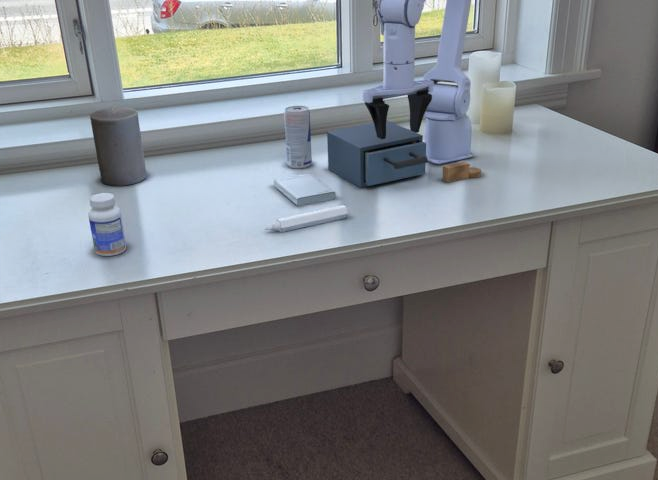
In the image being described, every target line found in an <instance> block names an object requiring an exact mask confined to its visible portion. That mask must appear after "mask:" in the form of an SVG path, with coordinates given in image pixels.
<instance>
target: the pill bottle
mask: <svg viewBox="0 0 658 480" xmlns="http://www.w3.org/2000/svg"><path fill="white" fill-rule="evenodd" d="M89 206H90V207H91V208H90V209H89V211H88V214H87V215H88V216H87V217H88V221H89V228H90V232H91V238H92V243H93V249H94V252H95V253H96V255H99V256H101V257H113V256H118V255H121V254H123V253H124V252H125V251H126V249H127V242H126V241H127V240H126V236H125V229H124V224H123V218H122V211H121V209H120V208H119V206H118V205H116V199H115V195H114V194H113V193H109V192H101V193H96V194H93V195H91V196H90V197H89Z"/></svg>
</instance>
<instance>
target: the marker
mask: <svg viewBox="0 0 658 480" xmlns="http://www.w3.org/2000/svg"><path fill="white" fill-rule="evenodd" d="M348 215H349V213H348V209H347V206H345V205H344V204H342V205H336V206H332V207H327V208H321V209H318V210H313V211H309V212H308V211H307V212H304V213H299V214H294V215H289V216H285V217H281V218H277V219H276V221H274V223H272V224H270V225H269V226H268V227H265V228H264V231H265V230H267V231H275V232H279V233H286V232H289V231H293V230H299V229H303V228H308V227H312V226H316V225H320V224H326V223H330V222H334V221H338V220H344V219H347V217H348Z"/></svg>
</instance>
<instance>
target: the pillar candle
mask: <svg viewBox="0 0 658 480" xmlns="http://www.w3.org/2000/svg"><path fill="white" fill-rule="evenodd" d="M89 119H90V124H91V130H92V136H93V143H94V148H95V151H96V152H95V153H96V159H97V164H98V169H99V174H100V182H101V183H102V184H103V185H107V186H116V187H122V186H130V185H134V184H137V183H141V182H142V181H145V179H147V176H148V175H147V169H146V160H145V153H144V147H143V146H144V145H143V140H142V133H141V127H140V120H139V113H138V110H136V109H134V108H131V107H113V106H111V107H110V108H109V107H108V108H104V109H100V110H97V111H94V112H92V113H91V114H90V115H89Z"/></svg>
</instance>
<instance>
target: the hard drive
mask: <svg viewBox="0 0 658 480" xmlns="http://www.w3.org/2000/svg"><path fill="white" fill-rule="evenodd" d="M273 187H275V188H276V189H277V190H278V191H280V193H282V194H283V196H285V197H287V198H288V199H289V200H290V201H291V202H293V203H294V204H295V205H296V206H305V205H310V204H315V203H321V202H327V201H331V200H332V201H333V200H335V199H336V198H337V192H336V191H335V190H333V189H332V188H331V187H329V186H328V185H326V184H325V183H324V182H322V181H321V180H320V179H318V178H317V177H315V175H313V174H312V173H303V174H297V175H292V176H287V177H286V176H285V177H283V178H275V179H274V180H273Z"/></svg>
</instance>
